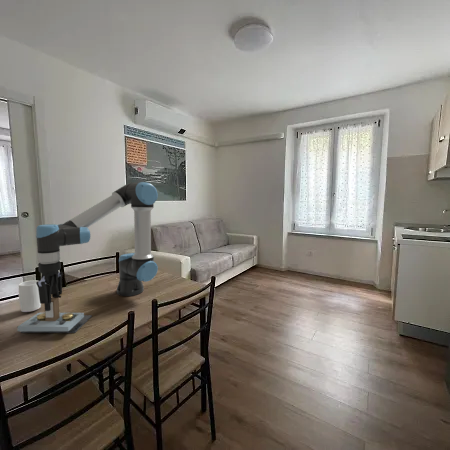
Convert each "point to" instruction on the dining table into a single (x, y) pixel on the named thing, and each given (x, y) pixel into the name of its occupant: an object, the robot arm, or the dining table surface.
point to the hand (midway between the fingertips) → (52, 314)
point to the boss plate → (61, 323)
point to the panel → (51, 321)
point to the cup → (29, 296)
